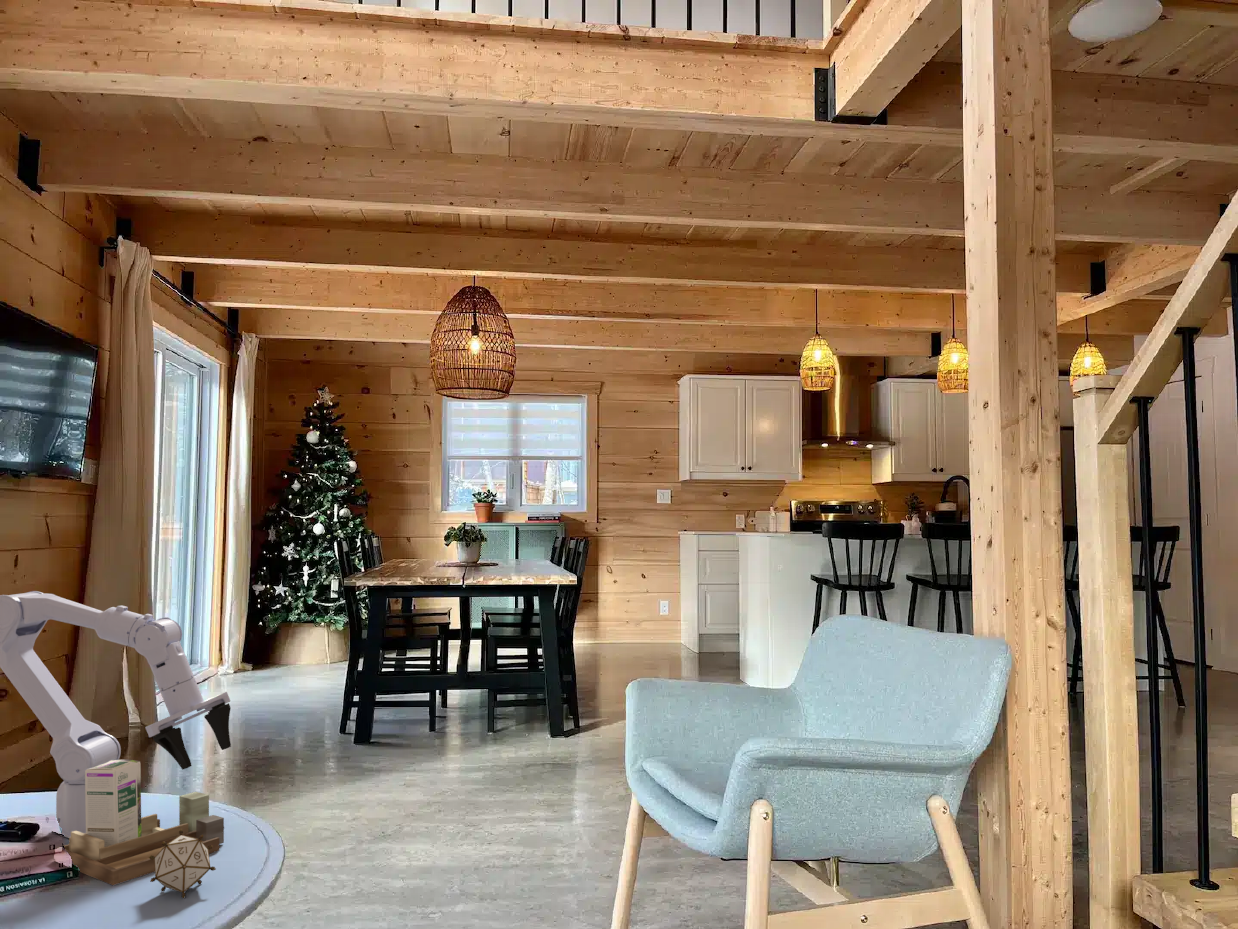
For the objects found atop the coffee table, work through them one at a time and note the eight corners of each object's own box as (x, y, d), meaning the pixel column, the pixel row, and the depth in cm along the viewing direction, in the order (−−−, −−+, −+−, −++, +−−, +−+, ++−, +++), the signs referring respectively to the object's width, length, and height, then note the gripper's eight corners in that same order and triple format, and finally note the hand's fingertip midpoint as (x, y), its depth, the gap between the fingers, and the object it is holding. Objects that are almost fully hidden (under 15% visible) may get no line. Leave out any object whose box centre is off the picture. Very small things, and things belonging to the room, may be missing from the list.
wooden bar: (105, 871, 143) (105, 844, 143) (210, 838, 157) (210, 814, 157) (121, 878, 140) (121, 850, 140) (226, 843, 154) (226, 818, 154)
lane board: (53, 861, 149) (53, 848, 149) (158, 830, 162) (158, 819, 163) (113, 885, 138) (113, 871, 138) (219, 850, 152) (219, 838, 152)
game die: (175, 914, 136) (172, 846, 142) (229, 892, 136) (225, 824, 142) (135, 905, 129) (134, 833, 135) (192, 882, 129) (189, 811, 135)
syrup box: (116, 863, 147) (117, 769, 148) (84, 862, 148) (84, 768, 149) (142, 850, 153) (142, 759, 153) (110, 849, 154) (110, 758, 155)
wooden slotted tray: (68, 857, 150) (69, 819, 150) (186, 822, 166) (186, 789, 166) (100, 869, 144) (101, 830, 144) (219, 832, 160) (219, 797, 160)
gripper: (148, 696, 156) (179, 773, 155) (225, 664, 168) (255, 735, 167) (129, 705, 160) (159, 780, 159) (206, 674, 172) (234, 743, 171)
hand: (207, 758), depth 164 cm, fingers open, 7 cm apart
